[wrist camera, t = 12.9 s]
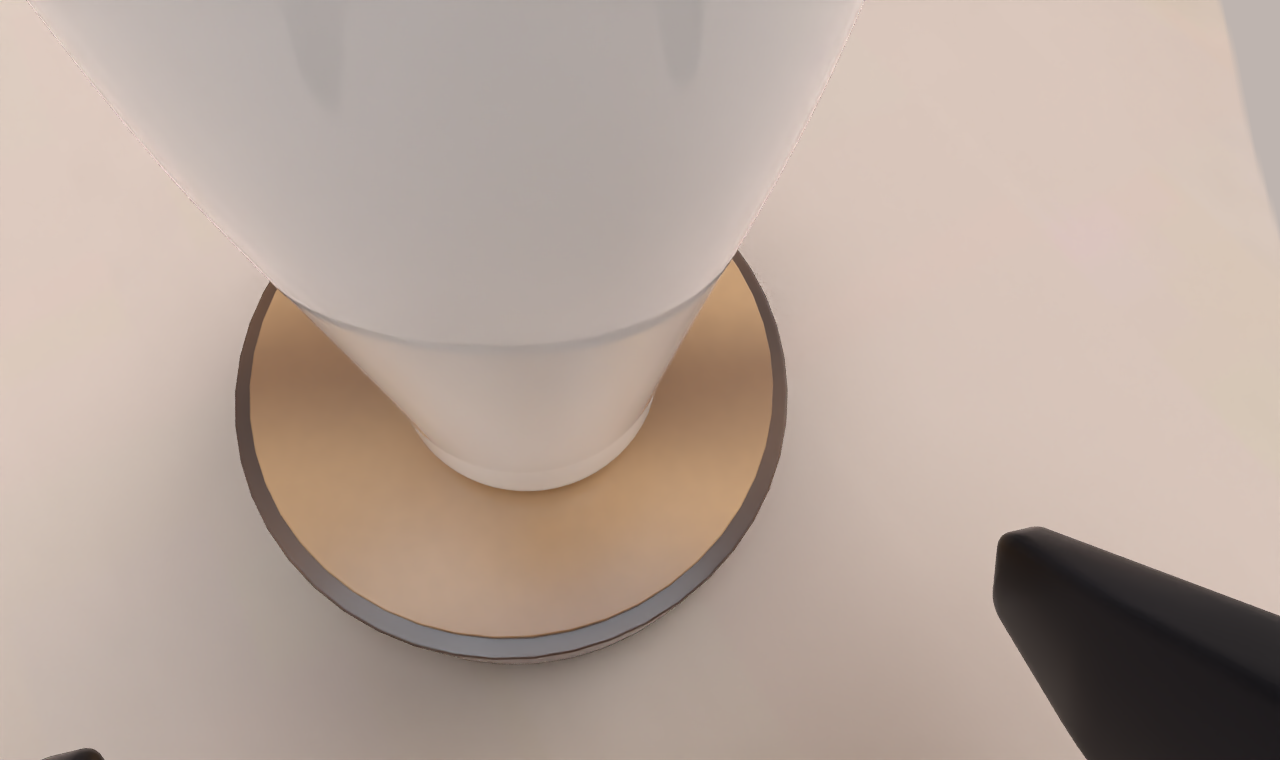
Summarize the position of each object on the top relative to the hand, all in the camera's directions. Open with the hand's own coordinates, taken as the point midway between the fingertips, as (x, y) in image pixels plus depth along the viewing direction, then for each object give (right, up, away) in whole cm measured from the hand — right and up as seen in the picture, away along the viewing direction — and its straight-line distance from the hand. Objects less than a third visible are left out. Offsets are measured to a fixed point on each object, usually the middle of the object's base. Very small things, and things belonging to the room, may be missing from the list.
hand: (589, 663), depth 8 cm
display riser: (-2, +2, +13) cm, 14 cm away
